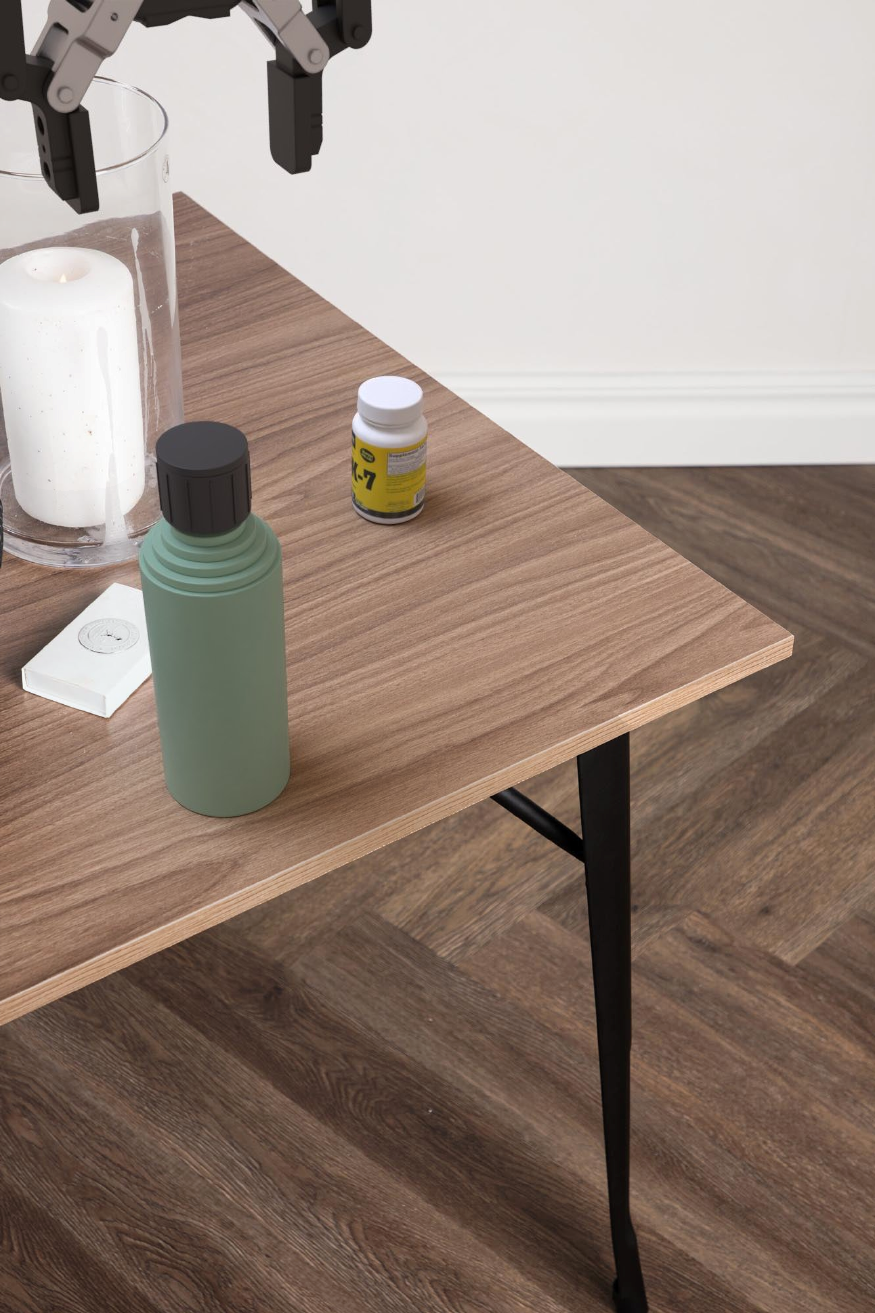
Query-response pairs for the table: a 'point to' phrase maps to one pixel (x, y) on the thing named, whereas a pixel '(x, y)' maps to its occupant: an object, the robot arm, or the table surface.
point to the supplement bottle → (389, 450)
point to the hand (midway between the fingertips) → (189, 185)
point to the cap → (204, 477)
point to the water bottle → (218, 664)
